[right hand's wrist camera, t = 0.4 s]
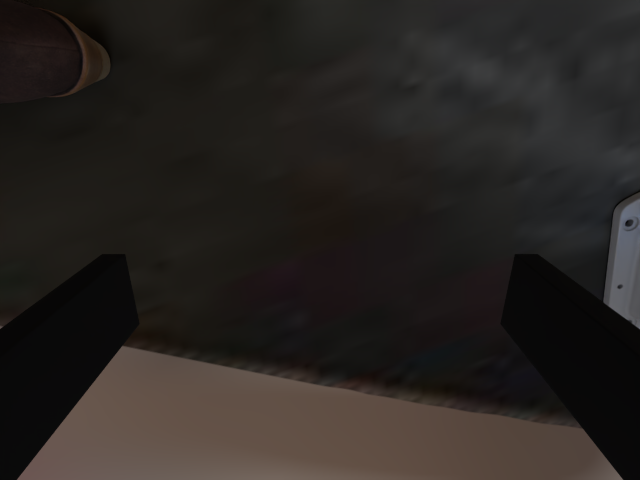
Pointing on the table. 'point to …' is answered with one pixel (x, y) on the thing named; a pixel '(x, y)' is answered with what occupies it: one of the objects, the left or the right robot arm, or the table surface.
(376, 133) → the table surface
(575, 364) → the right robot arm
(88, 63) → the boot
